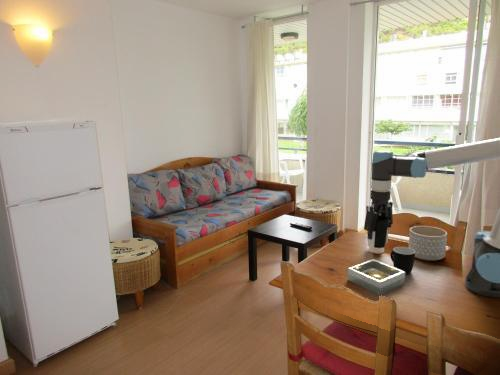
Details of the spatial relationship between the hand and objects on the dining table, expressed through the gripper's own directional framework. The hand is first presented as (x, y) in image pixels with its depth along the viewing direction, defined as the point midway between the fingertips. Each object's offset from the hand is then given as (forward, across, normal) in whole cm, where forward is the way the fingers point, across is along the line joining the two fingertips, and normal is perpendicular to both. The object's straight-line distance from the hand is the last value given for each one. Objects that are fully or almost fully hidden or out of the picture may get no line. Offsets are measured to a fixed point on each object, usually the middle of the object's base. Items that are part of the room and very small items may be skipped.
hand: (377, 244), depth 150 cm
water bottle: (+17, -29, -23) cm, 41 cm away
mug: (+17, -18, -1) cm, 25 cm away
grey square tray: (+17, 0, 0) cm, 17 cm away
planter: (+17, -43, -4) cm, 47 cm away
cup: (+1, 0, 0) cm, 1 cm away
